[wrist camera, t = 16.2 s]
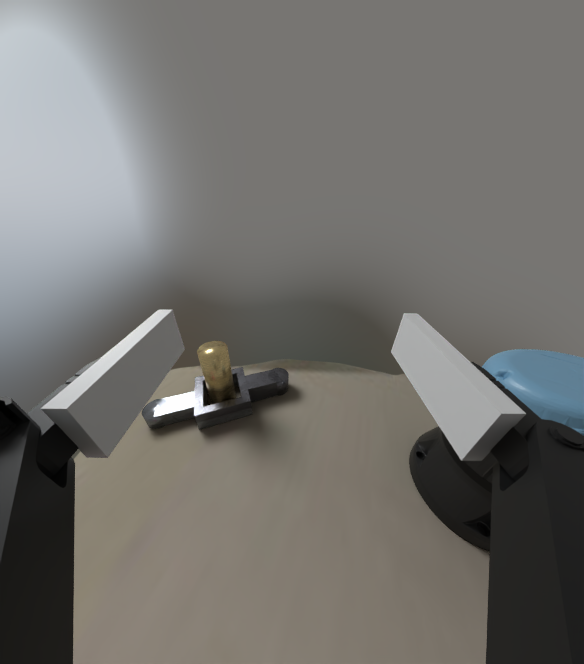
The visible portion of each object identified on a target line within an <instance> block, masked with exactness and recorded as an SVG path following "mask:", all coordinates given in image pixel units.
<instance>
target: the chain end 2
mask: <svg viewBox="0 0 584 664" xmlns="http://www.w3.org/2000/svg"><path fill="white" fill-rule="evenodd" d="M231 371H232V376H233V381H234V380H238V383H239V388H240V393H241V397H239V398H236V399H232V400H228V401H224V402H220V403H216V404H212V405H208V406H205V387H207V386H206V382H205V379H204V376H200V377H195V400H194V417H195V420H196V423H198V422H202V421H205V420H209V419H213V418H216V417H220V416H223V415H227V414H231V413H234V412H238V411H242V410H245V409H249V408H252V407H251V402H254V401H258V400H262V399H265V398H269V397H273V396H276V395H283V394H285V393H286V392H287V391H288V372H287V371H286V370H285V369H282V368H275V369H272V370H269V371H265V372H260V373H256V374H252V375H247V376H245V375H244V371H243V367H241V368H237V369H232V370H231Z"/></svg>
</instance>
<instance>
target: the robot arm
mask: <svg viewBox="0 0 584 664" xmlns="http://www.w3.org/2000/svg"><path fill="white" fill-rule="evenodd" d="M184 349H185V348H184V345H183V342H182V339H181V335H180V332H179V329H178V326H177V323H176V320H175V317H174V313H173V310H158V311H157V312H155V313H154V314H153V315H152V316H151V317H149V318H148V319H147V320H146V321H145V322H143V323H142V324H141V325H140V326H139V327H137V328H136V329H135V330H134V331H133V332H131V333H130V334H129V335H128V336H127V337H126V338H124V339H123V340H122V341H121V342H119V343H118V344H117V345H116V346H115V347H113V348H112V349H111V350H110V351H109V352H108V353H106V354H105V355H104V356H103V357H102V358H99V359H97V360H95V361H93V362H91V363H90V364H88V365H86V366H85V367H84V368H82V369H81V370H80V371H79V372H77V373H76V374H75V376H73V377H71V378H70V379H69V380H68V381H66V384H63V385H62V386H60V387H59V388H58V389H56V390H55V391H54V392H53V393H51V394H50V395H49V396H48V397H47V398H45V399H44V400H43V401H42V402H40V403H39V404H38V405H37V406H35V407H34V408H33V409H32V410H31V411H29V412H28V413H27V414H26V413H25V412H24V411H23V410H22V409H21V408H20V407H19V406H18V405H17V404H16V403H15V402H14V401H13V400H12V399H11V398H8V397H0V664H73V598H74V504H75V463H74V460H73V459H72V458H71V456H72V455H73V454H74V453H75V452H76V451H77V449H80V451H81V452H82V453H83V454H84V455H85V456H86V457H94V458H108V457H109V455H110V454H111V452H112V451H113V449H114V448H115V447H116V445H117V444H118V442H119V441H120V440H121V438H122V437H123V435H124V434H125V433H126V431H127V430H128V428H129V427H130V426H131V424H132V423H133V421H134V420H135V418H136V417H137V416H138V414H139V413H140V411H141V410H142V409H143V407H144V406H145V404H146V403H147V402H148V400H149V399H150V397H151V396H152V395H153V393H154V392H155V390H156V389H157V388H158V386H159V385H160V383H161V382H162V380H163V379H164V378H165V376H166V375H167V373H168V372H169V371H170V369H171V368H172V366H173V365H174V364H175V362H176V361H177V359H178V358H179V357H180V355H181V354H182V352H183V351H184ZM391 352H392V354H393V356H394V357H395V359H396V360H397V362H398V363H399V365H400V366H401V368H402V369H403V371H404V373H405V374H406V376H407V377H408V379H409V380H410V382H411V383H412V385H413V387H414V388H415V390H416V391H417V393H418V394H419V396H420V397H421V399H422V401H423V402H424V404H425V405H426V407H427V408H428V410H429V411H430V413H431V414H432V416H433V418H434V419H435V421H436V422H437V424H438V425H439V426H438V427H436V428H434V429H432V430H430V431H428V432H426V433H424V434H423V435H422V436H420V437H419V438H418V440H417V441H416V443H415V444H414V446H413V448H412V450H411V453H410V459H409V464H410V471H411V475H412V478H413V481H414V483H415V485H416V487H417V489H418V491H419V493H420V495H421V496H422V498H423V499H424V501H425V502H426V504H427V505H428V506H429V508H430V509H431V510H432V511H433V512H434V514H435V515H436V516H437V517H438V518H439V519H440V520H441V521H442V522H443V523H444V524H445V525H446V526H448V527H449V528H450V529H451V530H452V531H454V532H455V533H456V534H458V535H459V536H461V537H462V538H464V539H465V540H467V541H468V542H470V543H472V544H474V545H476V546H478V547H480V548H483V549H485V550H488V551H490V562H489V591H488V620H487V649H486V664H584V358H581V357H577V356H573V355H569V354H564V353H558V352H552V351H545V350H533V349H532V350H525V349H517V350H509V351H504V352H501V353H498V354H496V355H494V356H492V357H490V358H489V359H488V360H487V361H486V362H485V363H484V365H483V366H482V367H480V366H479V365H477V364H475V363H473V362H470V361H468V360H467V359H466V358H465V357H464V356H463V355H462V354H461V353H460V352H459V351H457V350H456V349H455V348H454V347H453V346H452V345H451V344H450V343H449V342H448V341H447V340H446V339H444V338H443V337H442V336H441V335H440V334H439V333H438V332H437V331H436V330H435V329H434V328H433V327H431V326H430V325H429V324H428V323H427V322H426V321H425V320H424V319H423V318H422V317H420V316H419V315H418V314H412V313H411V314H409V313H404V315H403V318H402V321H401V324H400V327H399V330H398V333H397V336H396V339H395V342H394V345H393V348H392V351H391Z"/></svg>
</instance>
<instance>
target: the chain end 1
mask: <svg viewBox="0 0 584 664" xmlns="http://www.w3.org/2000/svg"><path fill="white" fill-rule="evenodd" d="M233 382H234V387H237V386H239V383H238V380H234V381H233ZM239 390H240V388H239ZM207 394H208V389H207V387H205V406H207ZM240 394H241V393H240ZM194 400H195V391H194V392H189V393H185V394H181V395H177V396H172V397H168V398H164V399H157V400H154V401H152V402H150V403H148V404H147V405H146V406H145V407H144V409H143V410H142V416H143V417H144V419H145V421H146V423H147V424H148V426H149V427H150V428H153V429H156V428H160V427H163V426H165V425H169V424H172V423H176V422H180V421H183V420H187V419H191V418H195V417H194ZM248 415H252V408H249V409H245V410H242V411H238V412H234V413H231V414H227V415H223V416H220V417H216V418H213V419H209V420H205V421H202V422H198V423H197V425H198V428H199V429H203V428H206V427H210V426H213V425H217V424H220V423H224V422H227V421H231V420H234V419H238V418H241V417H245V416H248Z"/></svg>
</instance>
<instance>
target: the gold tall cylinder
mask: <svg viewBox="0 0 584 664" xmlns="http://www.w3.org/2000/svg"><path fill="white" fill-rule="evenodd" d="M197 353H198V357H199V360H200V364H201V368H202V371H203V375H204V379H205V382H206V386H207V389H208V393H209V397H210V400H211V404H216V403H220V402H224V401H228V400H232V399H236V393H235V388H234V382H233V376H232V371H231V365H230V360H229V354H228V349H227V345H226V344H225V343H224V342H221V341H211V342H207V343H205V344H203V345H201V346H200V347H199V348H198V350H197Z"/></svg>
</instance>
